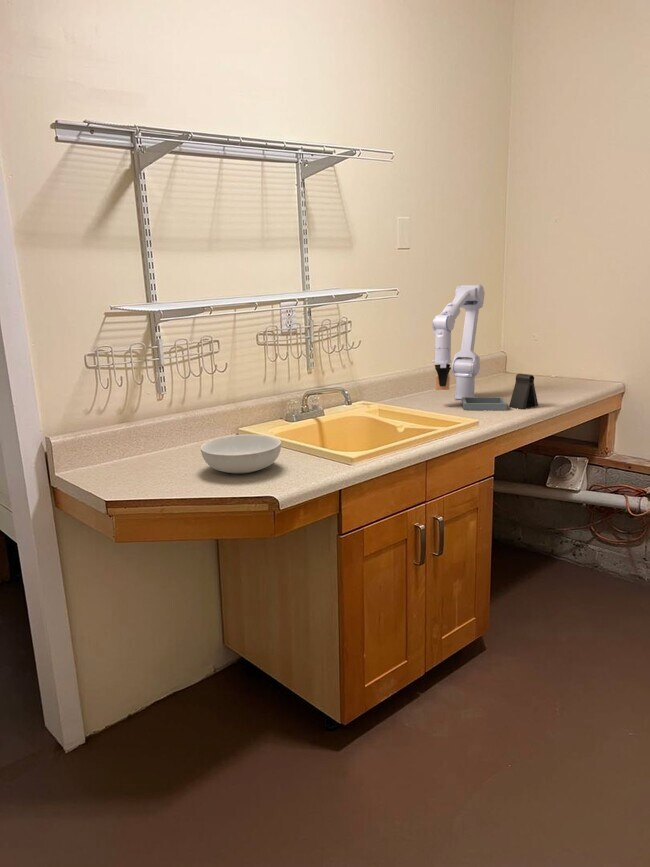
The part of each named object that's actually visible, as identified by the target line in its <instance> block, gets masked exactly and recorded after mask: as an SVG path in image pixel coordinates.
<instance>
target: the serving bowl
mask: <svg viewBox="0 0 650 867" xmlns="http://www.w3.org/2000/svg"><path fill="white" fill-rule="evenodd" d="M281 447H282V441H281V439H279V438H277V437H275V436H273V435H265V434H233V435H228V436H227V435H225V436H222V437H218V438H214V439H211V440H207V441H206V442H204V443H202V444H201V446H200V447H199V448H200V452H201V455H202V458H203V460H204V462H205V463H206V464H207V465H208V466H209V467H211V468H212V469H215V470H216V471H218V472H219V471H220V472H222V473H228V474H237V475H238V474H250V473H254V472H256V471H260V470H264V469H265V468H268V467H269V466H271V465H272V464H273V463H274V462H275V461H276V460H277V459H278V458H279V456H280V453H281Z"/></svg>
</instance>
